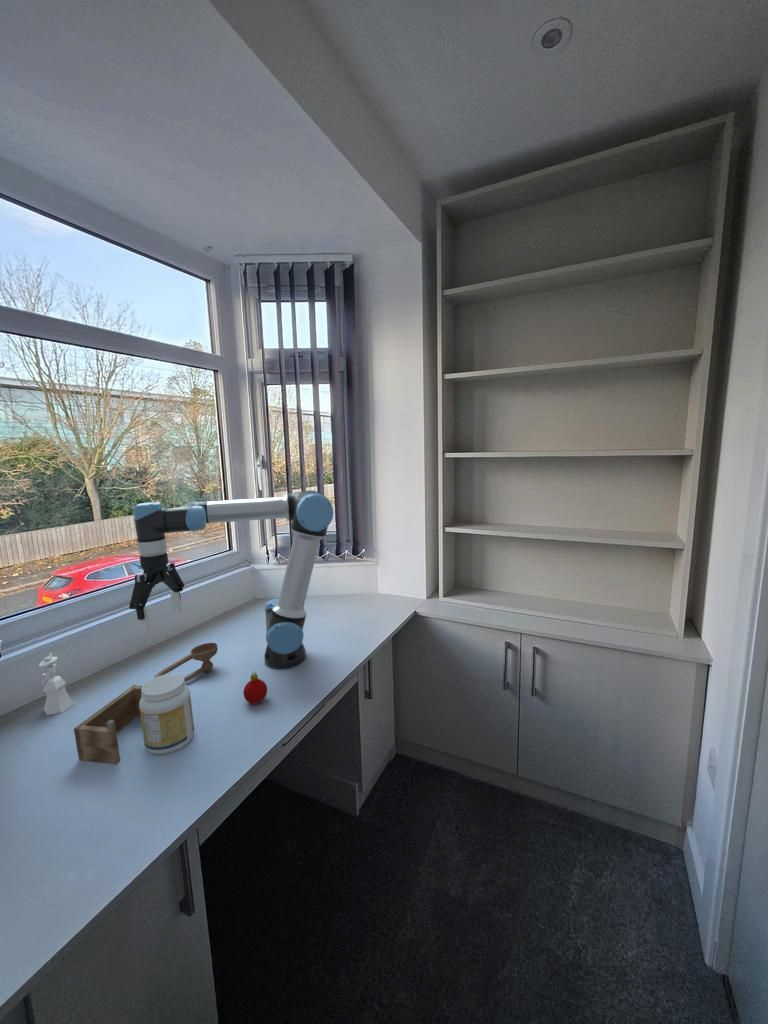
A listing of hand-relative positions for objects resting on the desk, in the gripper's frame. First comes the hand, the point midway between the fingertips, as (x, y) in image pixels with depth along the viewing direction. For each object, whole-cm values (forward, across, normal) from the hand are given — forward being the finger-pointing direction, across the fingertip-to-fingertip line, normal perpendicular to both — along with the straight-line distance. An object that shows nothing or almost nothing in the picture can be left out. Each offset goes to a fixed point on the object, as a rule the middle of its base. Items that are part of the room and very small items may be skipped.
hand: (161, 619), depth 132 cm
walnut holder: (+26, +19, 0) cm, 32 cm away
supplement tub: (+26, +18, +14) cm, 35 cm away
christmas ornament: (+27, -2, +29) cm, 39 cm away
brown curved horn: (+27, -15, -5) cm, 31 cm away
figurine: (+26, +11, -32) cm, 43 cm away
